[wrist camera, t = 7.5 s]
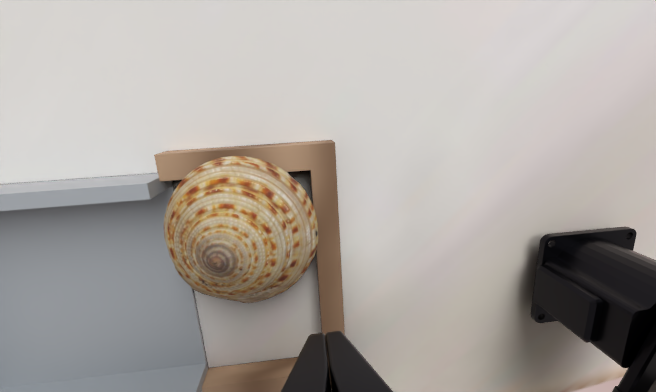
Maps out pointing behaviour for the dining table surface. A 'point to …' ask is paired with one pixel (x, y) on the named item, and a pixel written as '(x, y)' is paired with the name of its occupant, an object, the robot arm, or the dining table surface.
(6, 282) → the tray
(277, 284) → the seashell
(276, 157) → the cradle
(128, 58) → the dining table surface
